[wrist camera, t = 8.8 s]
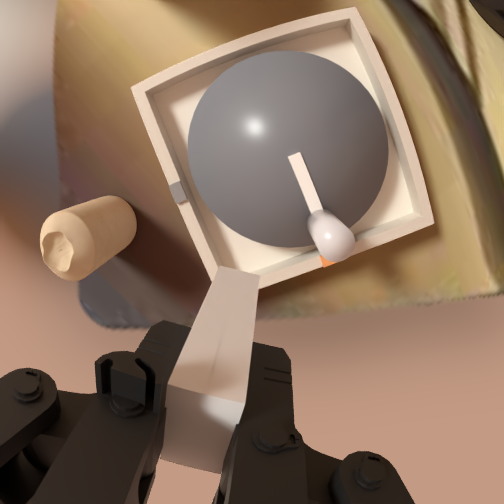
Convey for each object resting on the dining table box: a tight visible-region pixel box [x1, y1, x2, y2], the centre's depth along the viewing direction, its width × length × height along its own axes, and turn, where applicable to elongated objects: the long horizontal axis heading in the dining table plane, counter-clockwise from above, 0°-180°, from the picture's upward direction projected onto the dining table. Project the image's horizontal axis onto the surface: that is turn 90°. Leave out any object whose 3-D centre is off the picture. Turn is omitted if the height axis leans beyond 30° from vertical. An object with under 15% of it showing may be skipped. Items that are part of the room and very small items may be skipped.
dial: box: [187, 51, 389, 262], centre depth 22 cm, size 16×16×8 cm
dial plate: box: [131, 7, 434, 289], centre depth 25 cm, size 20×20×4 cm
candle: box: [40, 196, 137, 281], centre depth 25 cm, size 6×6×10 cm
